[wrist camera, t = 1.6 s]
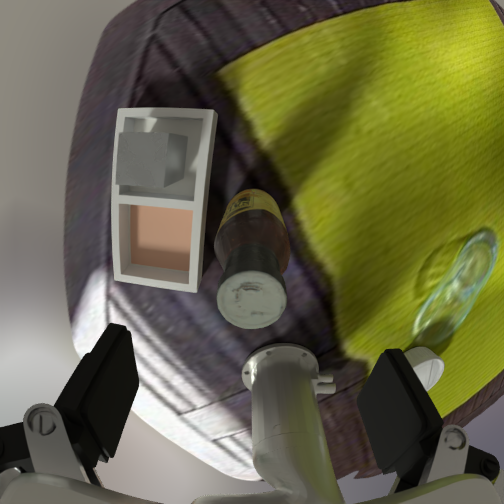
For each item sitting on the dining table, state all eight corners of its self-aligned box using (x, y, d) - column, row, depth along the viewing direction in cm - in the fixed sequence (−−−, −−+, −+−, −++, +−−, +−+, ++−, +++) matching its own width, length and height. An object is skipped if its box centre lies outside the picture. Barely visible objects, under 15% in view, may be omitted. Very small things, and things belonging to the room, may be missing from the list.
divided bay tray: (132, 112, 29) (118, 108, 25) (218, 114, 29) (213, 109, 26) (126, 267, 36) (114, 280, 32) (201, 278, 37) (196, 292, 33)
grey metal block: (188, 136, 29) (168, 132, 22) (183, 178, 31) (163, 187, 24) (148, 135, 29) (119, 132, 22) (144, 175, 31) (115, 184, 23)
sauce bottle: (242, 177, 32) (233, 216, 14) (287, 203, 33) (334, 273, 15) (216, 224, 34) (180, 313, 16) (260, 247, 35) (271, 354, 17)
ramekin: (439, 354, 44) (451, 370, 39) (399, 389, 47) (408, 406, 42) (419, 332, 41) (433, 349, 36) (374, 372, 44) (383, 391, 39)
